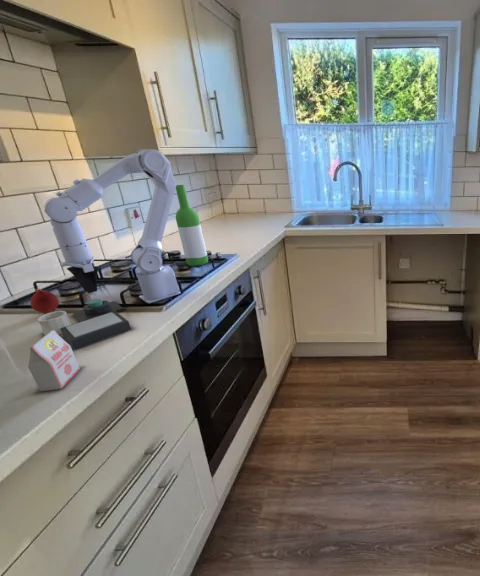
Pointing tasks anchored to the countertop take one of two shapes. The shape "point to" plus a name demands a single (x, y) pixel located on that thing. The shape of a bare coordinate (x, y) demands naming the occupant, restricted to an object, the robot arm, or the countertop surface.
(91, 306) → the button
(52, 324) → the cup
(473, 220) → the countertop surface
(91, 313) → the pad
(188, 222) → the wine bottle
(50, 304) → the onion
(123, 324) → the scale
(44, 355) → the printed snack carton
